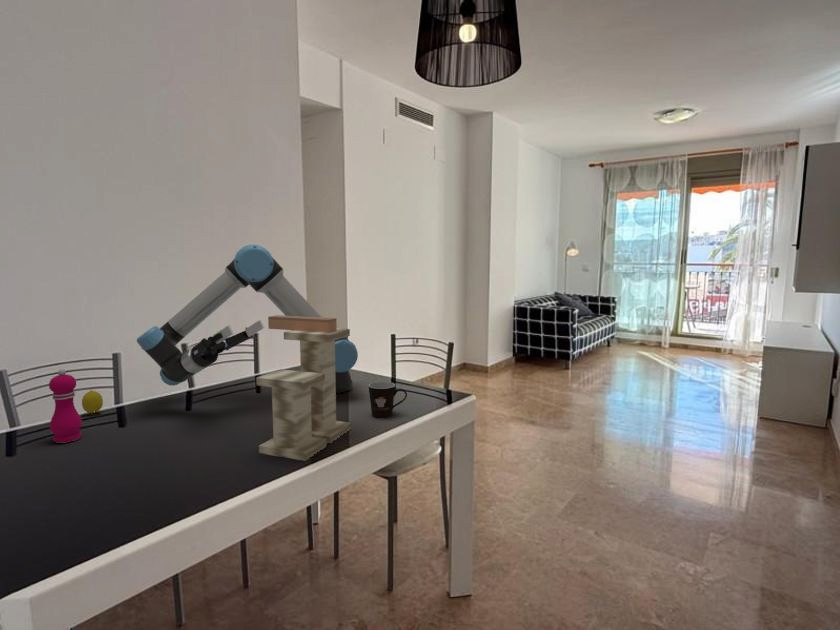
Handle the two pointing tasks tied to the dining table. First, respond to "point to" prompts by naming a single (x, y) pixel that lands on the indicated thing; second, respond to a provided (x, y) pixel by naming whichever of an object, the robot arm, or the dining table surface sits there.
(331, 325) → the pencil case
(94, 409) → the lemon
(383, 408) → the coffee mug
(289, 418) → the two-tier stand
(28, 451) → the dining table surface
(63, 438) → the pepper mill
